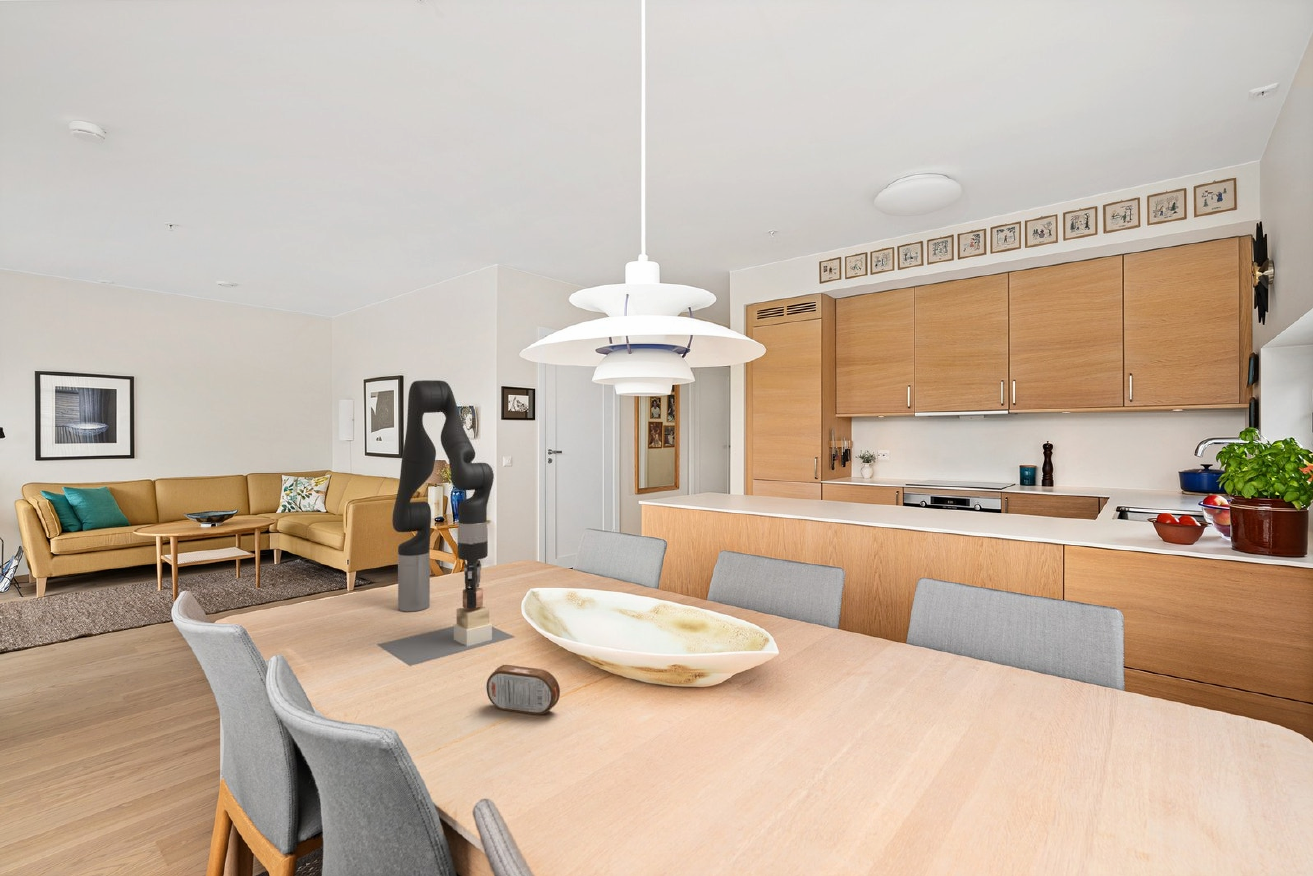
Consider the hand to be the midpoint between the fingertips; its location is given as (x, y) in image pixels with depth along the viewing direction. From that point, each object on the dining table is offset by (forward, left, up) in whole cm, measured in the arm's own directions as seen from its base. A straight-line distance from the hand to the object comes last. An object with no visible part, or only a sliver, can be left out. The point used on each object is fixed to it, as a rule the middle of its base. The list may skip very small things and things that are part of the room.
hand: (472, 604), depth 156 cm
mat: (-4, -5, -10) cm, 12 cm away
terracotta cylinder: (0, 0, 0) cm, 0 cm away
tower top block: (0, 0, -5) cm, 5 cm away
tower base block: (0, 0, -9) cm, 9 cm away
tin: (+42, -12, -10) cm, 45 cm away
